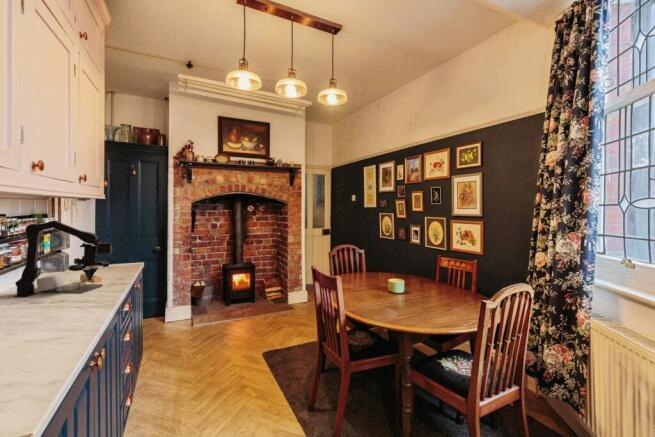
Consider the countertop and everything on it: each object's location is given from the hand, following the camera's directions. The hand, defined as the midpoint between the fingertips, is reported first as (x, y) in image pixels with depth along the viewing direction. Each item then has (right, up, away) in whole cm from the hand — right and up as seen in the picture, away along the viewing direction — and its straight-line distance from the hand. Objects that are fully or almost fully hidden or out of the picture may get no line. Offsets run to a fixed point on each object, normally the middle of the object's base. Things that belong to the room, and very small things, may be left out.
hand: (89, 280), depth 177 cm
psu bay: (-9, -6, +1) cm, 11 cm away
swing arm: (-3, -1, +5) cm, 6 cm away
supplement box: (-24, -1, +5) cm, 25 cm away
